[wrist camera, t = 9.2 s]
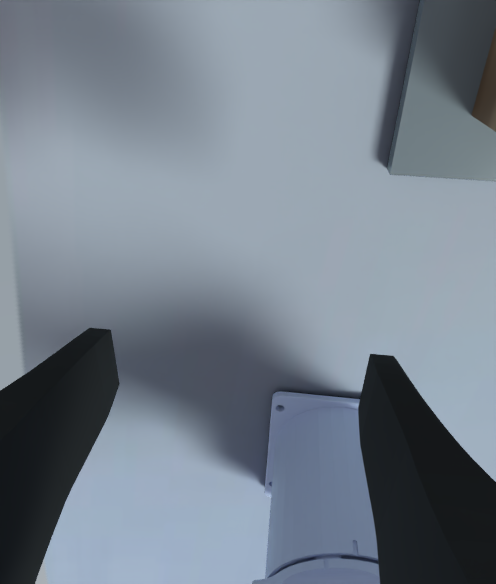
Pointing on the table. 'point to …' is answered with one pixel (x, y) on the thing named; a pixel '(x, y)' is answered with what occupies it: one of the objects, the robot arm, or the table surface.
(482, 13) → the slate coaster
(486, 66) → the walnut cube
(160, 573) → the table surface
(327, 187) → the table surface
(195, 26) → the table surface
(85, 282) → the table surface
